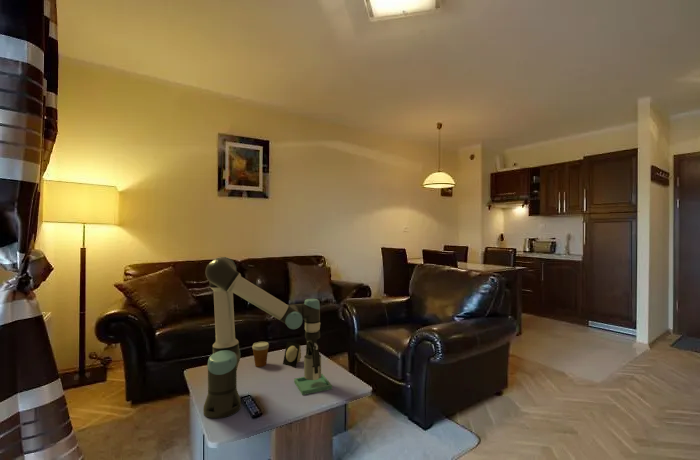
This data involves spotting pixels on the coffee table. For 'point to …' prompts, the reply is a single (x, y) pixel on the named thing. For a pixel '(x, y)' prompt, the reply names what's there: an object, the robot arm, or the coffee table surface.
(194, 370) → the coffee table surface
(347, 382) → the coffee table surface
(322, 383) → the tray
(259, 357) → the disposable coffee cup
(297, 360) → the decorative object
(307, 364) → the cup
